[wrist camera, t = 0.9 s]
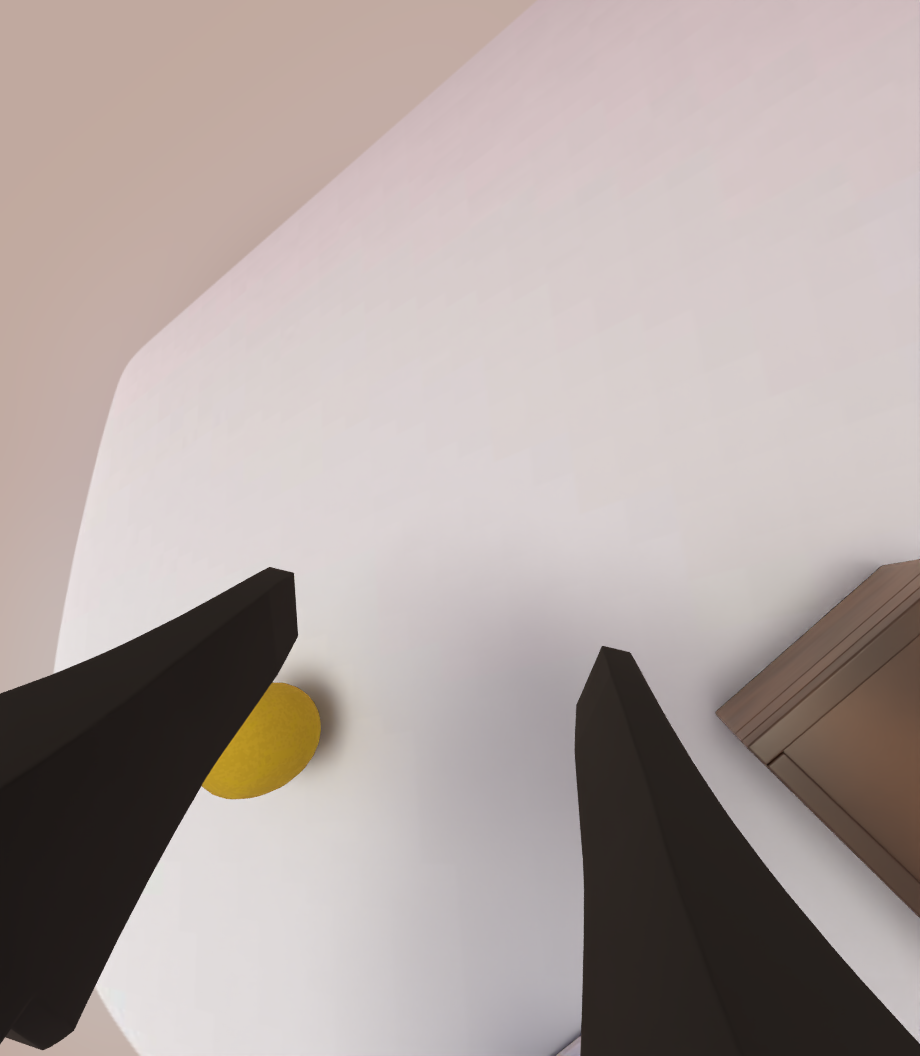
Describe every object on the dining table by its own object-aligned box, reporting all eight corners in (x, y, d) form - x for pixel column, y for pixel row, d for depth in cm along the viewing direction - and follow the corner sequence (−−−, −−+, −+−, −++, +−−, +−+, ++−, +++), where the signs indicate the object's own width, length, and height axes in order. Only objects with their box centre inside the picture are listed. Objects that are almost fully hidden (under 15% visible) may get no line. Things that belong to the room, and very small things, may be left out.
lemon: (288, 782, 28) (170, 844, 21) (261, 696, 30) (142, 725, 22) (360, 745, 27) (262, 798, 20) (327, 658, 29) (226, 676, 21)
